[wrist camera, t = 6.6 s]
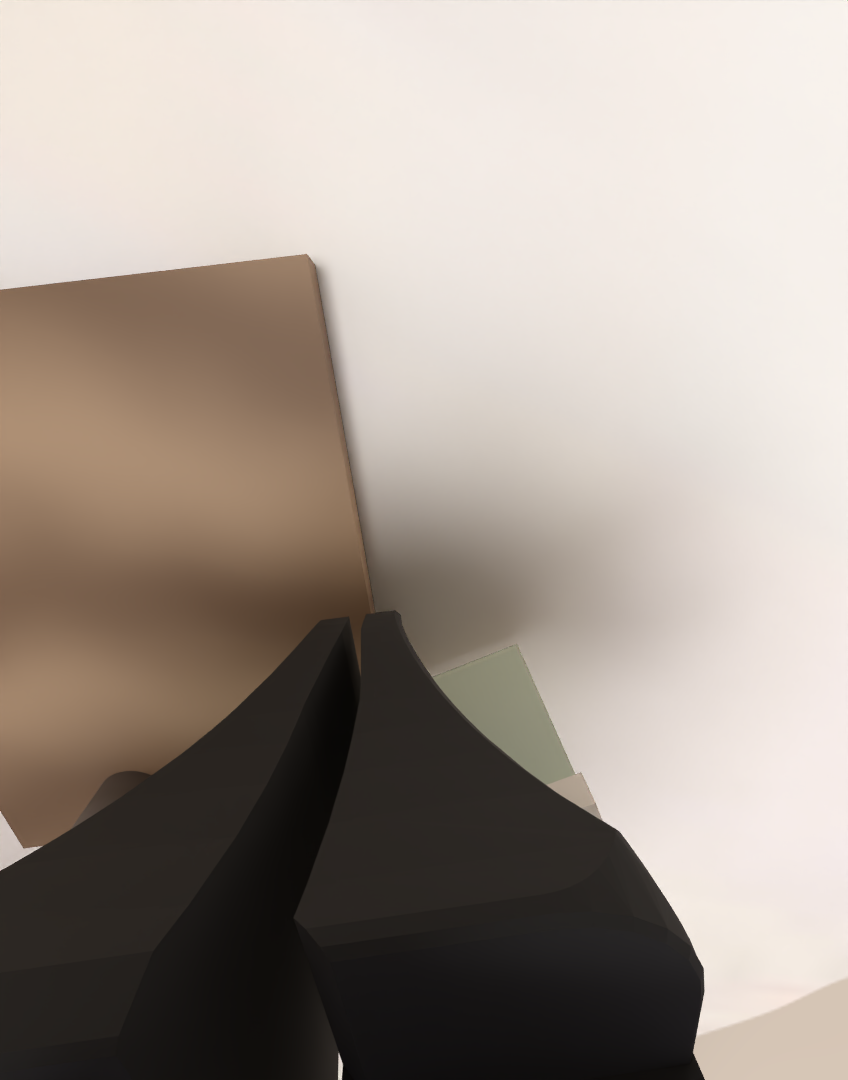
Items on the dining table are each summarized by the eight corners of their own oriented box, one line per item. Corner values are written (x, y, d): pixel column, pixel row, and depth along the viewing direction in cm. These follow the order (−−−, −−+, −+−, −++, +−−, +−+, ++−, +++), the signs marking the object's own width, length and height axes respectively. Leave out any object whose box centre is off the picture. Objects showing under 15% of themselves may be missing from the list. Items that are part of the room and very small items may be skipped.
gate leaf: (179, 816, 14) (67, 1053, 9) (146, 780, 13) (9, 1012, 8) (535, 679, 13) (619, 863, 8) (516, 633, 12) (595, 803, 7)
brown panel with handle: (402, 769, 16) (409, 1061, 9) (46, 818, 15) (-213, 1156, 9) (309, 232, 10) (149, -27, 3) (-255, 298, 10) (-1594, 155, 3)
